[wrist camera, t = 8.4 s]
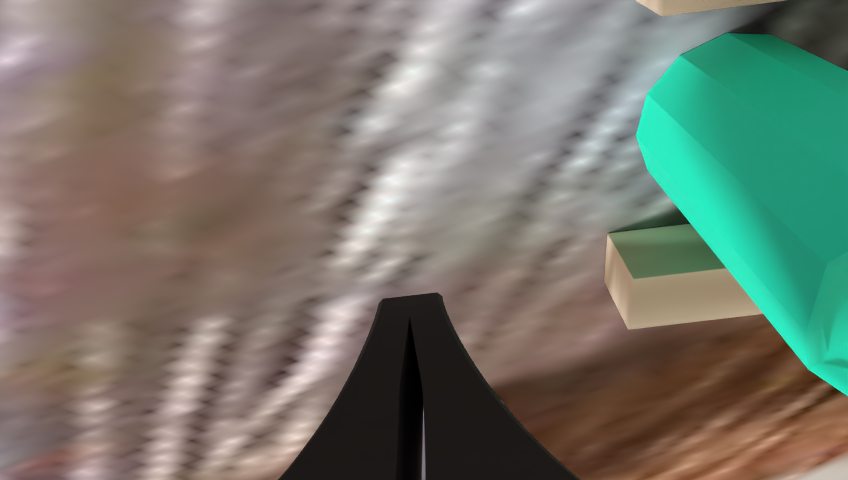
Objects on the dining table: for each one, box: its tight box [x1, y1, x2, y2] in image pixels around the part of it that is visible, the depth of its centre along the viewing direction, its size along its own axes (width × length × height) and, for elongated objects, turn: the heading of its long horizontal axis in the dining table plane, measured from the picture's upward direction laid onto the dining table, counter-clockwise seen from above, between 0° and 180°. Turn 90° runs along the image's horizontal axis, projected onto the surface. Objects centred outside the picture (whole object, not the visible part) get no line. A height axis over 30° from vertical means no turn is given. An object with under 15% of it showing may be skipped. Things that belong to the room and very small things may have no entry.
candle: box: [636, 33, 848, 396], centre depth 16 cm, size 6×6×12 cm
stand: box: [604, 0, 786, 330], centre depth 20 cm, size 18×11×3 cm, turn 7°
